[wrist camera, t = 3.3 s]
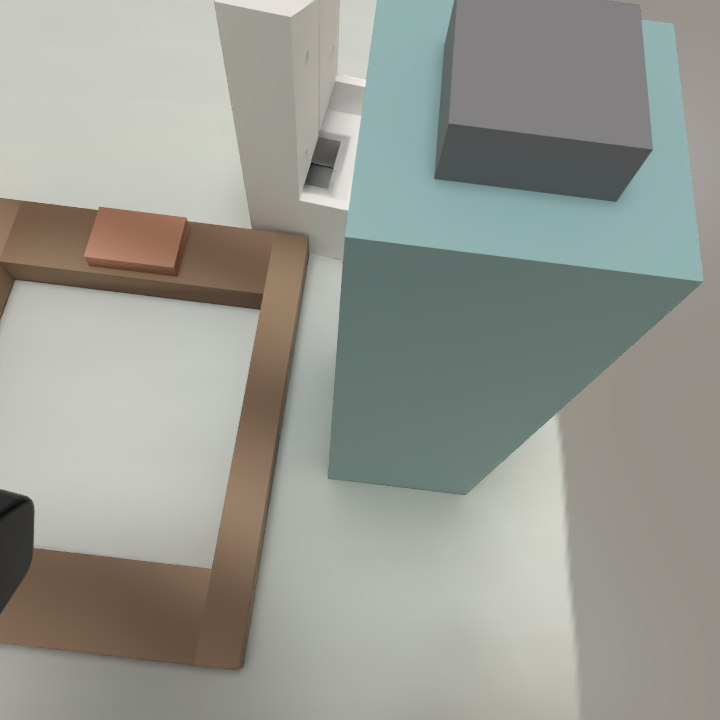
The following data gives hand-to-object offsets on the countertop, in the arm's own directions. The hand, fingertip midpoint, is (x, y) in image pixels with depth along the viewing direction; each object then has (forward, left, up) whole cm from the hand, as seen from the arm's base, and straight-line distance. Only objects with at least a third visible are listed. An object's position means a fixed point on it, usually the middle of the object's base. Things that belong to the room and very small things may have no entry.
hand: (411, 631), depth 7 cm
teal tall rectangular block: (+7, -1, -13) cm, 15 cm away
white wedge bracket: (+16, +3, -13) cm, 21 cm away
